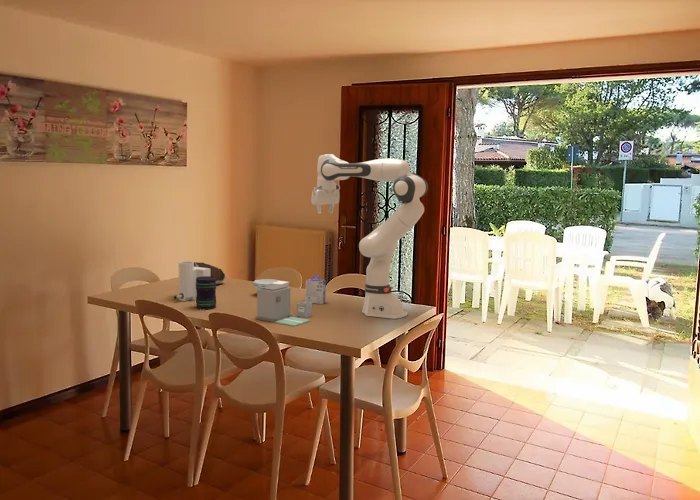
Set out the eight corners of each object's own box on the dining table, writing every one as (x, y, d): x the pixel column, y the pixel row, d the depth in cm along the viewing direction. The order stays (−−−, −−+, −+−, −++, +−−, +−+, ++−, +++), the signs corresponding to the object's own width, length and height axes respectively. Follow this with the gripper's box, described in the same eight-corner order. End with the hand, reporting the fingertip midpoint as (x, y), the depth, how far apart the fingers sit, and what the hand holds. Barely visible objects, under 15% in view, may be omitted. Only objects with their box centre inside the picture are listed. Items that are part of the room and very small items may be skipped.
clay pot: (233, 264, 359) (200, 261, 339) (232, 290, 358) (198, 288, 338) (216, 265, 368) (183, 261, 348) (215, 290, 366) (182, 288, 347)
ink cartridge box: (325, 302, 316) (326, 275, 314) (323, 304, 311) (323, 276, 309) (307, 301, 318) (308, 274, 316) (304, 303, 313) (305, 275, 311)
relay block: (311, 315, 286) (312, 302, 285) (305, 317, 281) (305, 304, 280) (303, 314, 288) (303, 301, 287) (296, 316, 284) (297, 303, 283)
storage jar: (220, 307, 298) (220, 277, 297) (205, 310, 290) (205, 280, 289) (206, 304, 304) (206, 275, 302) (191, 307, 296) (191, 278, 294)
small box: (278, 305, 305) (278, 280, 304) (289, 307, 303) (289, 281, 301) (270, 308, 298) (270, 283, 296) (281, 310, 295) (281, 284, 294)
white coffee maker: (211, 298, 319) (210, 261, 317) (187, 304, 302) (187, 265, 300) (186, 295, 326) (186, 258, 323) (162, 301, 309) (162, 263, 307)
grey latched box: (291, 316, 282) (292, 286, 280) (274, 322, 271) (274, 290, 269) (273, 313, 288) (273, 283, 286) (255, 318, 277) (255, 287, 275)
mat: (310, 321, 274) (310, 319, 274) (294, 326, 264) (294, 325, 264) (291, 317, 280) (291, 316, 280) (275, 322, 270) (275, 321, 270)
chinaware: (248, 294, 331) (248, 280, 330) (271, 291, 341) (271, 278, 340) (263, 299, 320) (263, 285, 319) (286, 295, 330) (286, 282, 329)
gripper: (318, 186, 292) (318, 214, 294) (341, 186, 309) (341, 212, 311) (308, 186, 296) (308, 214, 297) (331, 185, 313) (331, 212, 314)
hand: (325, 213), depth 304 cm, fingers open, 8 cm apart
